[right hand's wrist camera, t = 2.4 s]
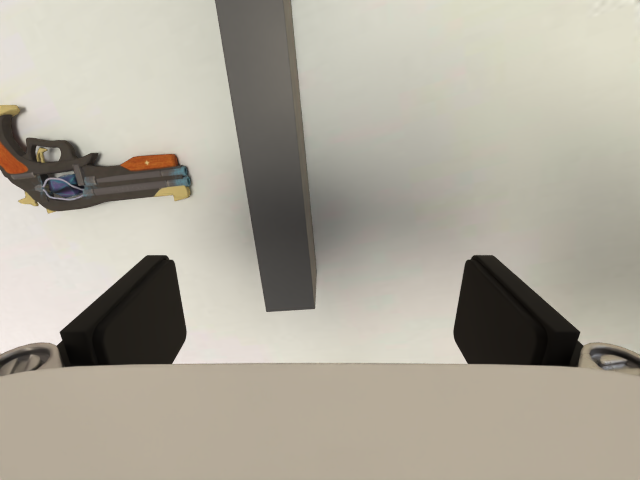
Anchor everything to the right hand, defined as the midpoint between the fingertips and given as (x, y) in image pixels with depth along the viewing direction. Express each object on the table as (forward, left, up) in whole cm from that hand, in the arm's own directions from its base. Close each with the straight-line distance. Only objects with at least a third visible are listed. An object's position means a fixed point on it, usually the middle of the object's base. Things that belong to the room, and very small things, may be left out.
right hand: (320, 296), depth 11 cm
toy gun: (+12, +19, -24) cm, 33 cm away
